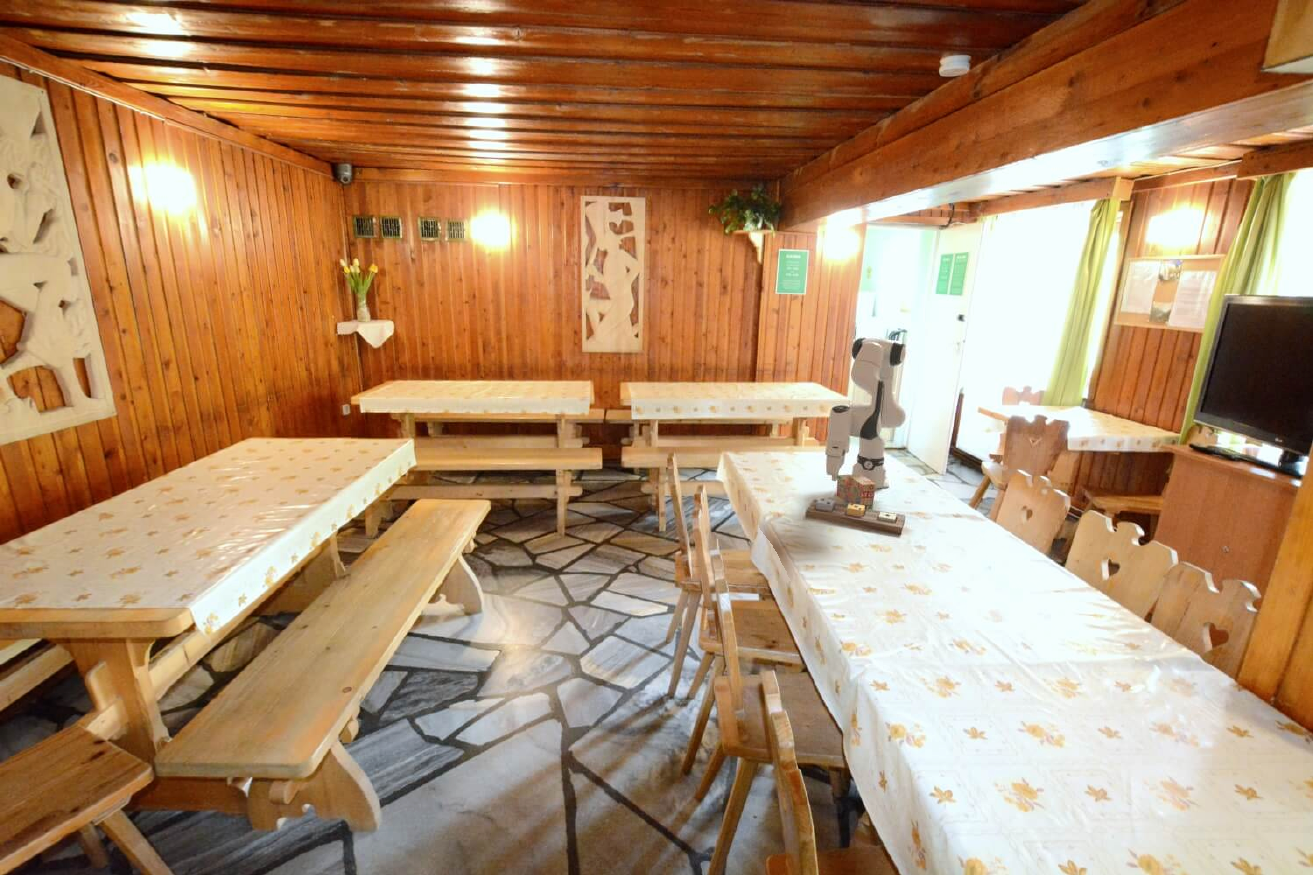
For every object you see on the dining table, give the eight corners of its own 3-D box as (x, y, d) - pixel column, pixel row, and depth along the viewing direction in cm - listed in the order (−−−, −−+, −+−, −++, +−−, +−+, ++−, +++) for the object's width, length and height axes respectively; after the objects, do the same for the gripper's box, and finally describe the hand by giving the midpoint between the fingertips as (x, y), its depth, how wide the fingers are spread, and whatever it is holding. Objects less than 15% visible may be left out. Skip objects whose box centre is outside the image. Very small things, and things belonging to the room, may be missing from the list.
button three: (848, 512, 237) (849, 502, 236) (864, 515, 234) (865, 505, 233) (846, 517, 231) (847, 507, 230) (861, 520, 229) (862, 510, 228)
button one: (879, 520, 232) (880, 511, 231) (895, 523, 229) (896, 513, 228) (877, 526, 226) (878, 516, 225) (893, 529, 224) (895, 519, 223)
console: (813, 506, 247) (814, 499, 246) (904, 522, 231) (905, 515, 230) (805, 517, 235) (806, 510, 234) (901, 534, 219) (901, 527, 218)
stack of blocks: (835, 494, 262) (838, 468, 259) (848, 493, 263) (851, 468, 260) (858, 512, 242) (861, 484, 239) (872, 511, 243) (875, 483, 240)
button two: (818, 507, 242) (819, 497, 241) (833, 509, 239) (834, 500, 238) (815, 511, 237) (816, 502, 236) (830, 514, 234) (831, 504, 233)
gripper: (834, 440, 240) (831, 472, 244) (824, 451, 222) (821, 485, 226) (850, 442, 238) (846, 474, 241) (841, 454, 220) (838, 488, 223)
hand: (834, 480), depth 233 cm, fingers closed
